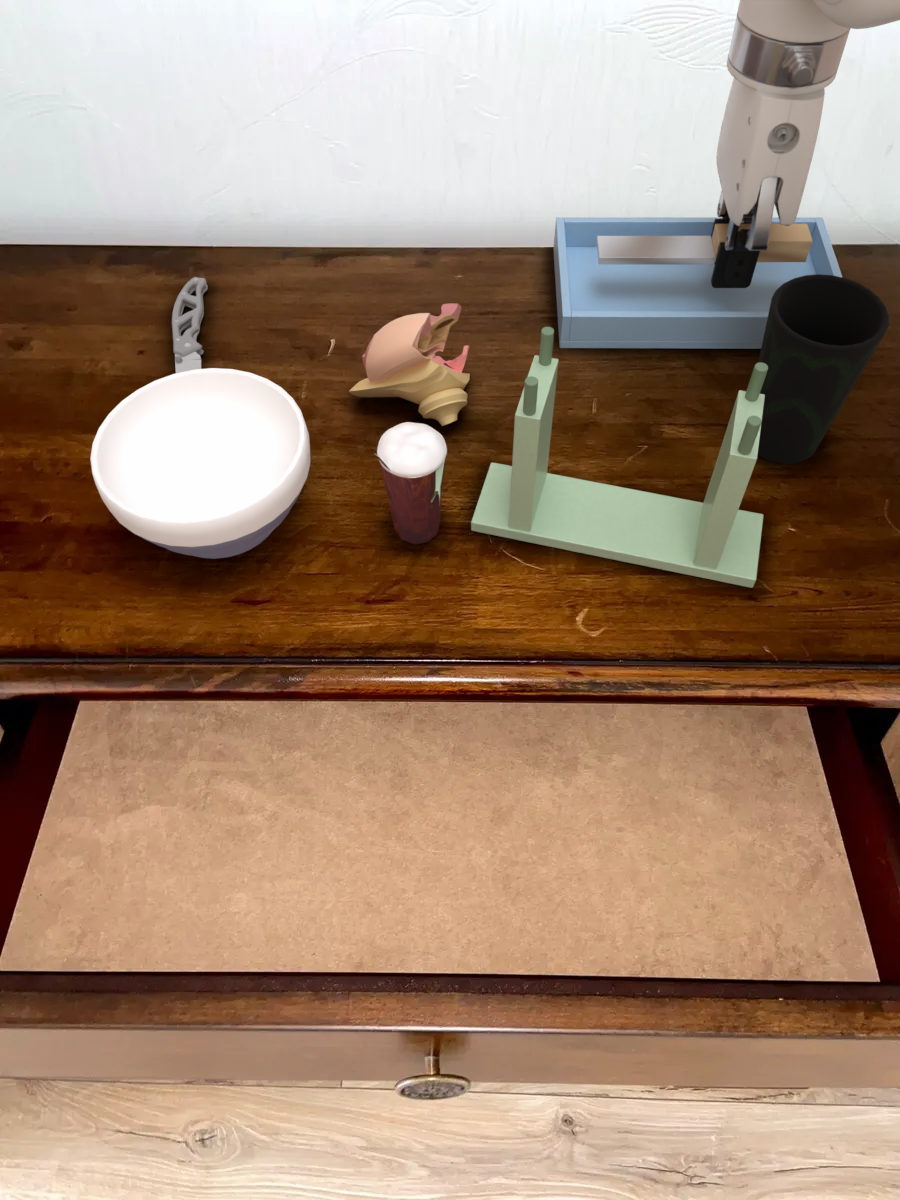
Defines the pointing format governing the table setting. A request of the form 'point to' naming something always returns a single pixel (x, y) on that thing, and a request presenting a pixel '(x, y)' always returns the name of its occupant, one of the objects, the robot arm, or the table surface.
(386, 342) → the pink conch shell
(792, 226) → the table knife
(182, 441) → the bowl
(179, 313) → the knife
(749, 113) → the robot arm
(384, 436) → the milkshake
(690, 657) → the table surface
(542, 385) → the rack
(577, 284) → the tray
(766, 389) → the cup
